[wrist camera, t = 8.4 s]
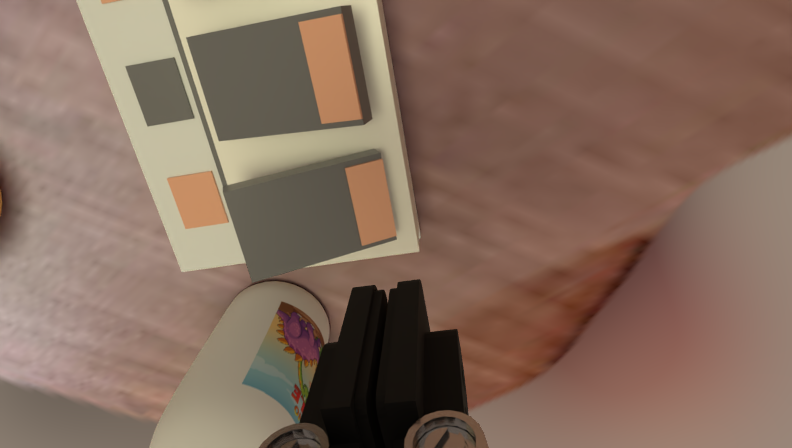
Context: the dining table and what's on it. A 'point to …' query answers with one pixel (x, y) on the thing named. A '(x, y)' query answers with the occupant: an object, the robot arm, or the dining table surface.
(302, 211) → the switch
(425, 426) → the robot arm
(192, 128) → the switch board
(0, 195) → the hamburger
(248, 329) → the milk bottle
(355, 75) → the switch middle
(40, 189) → the dining table surface
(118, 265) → the dining table surface
